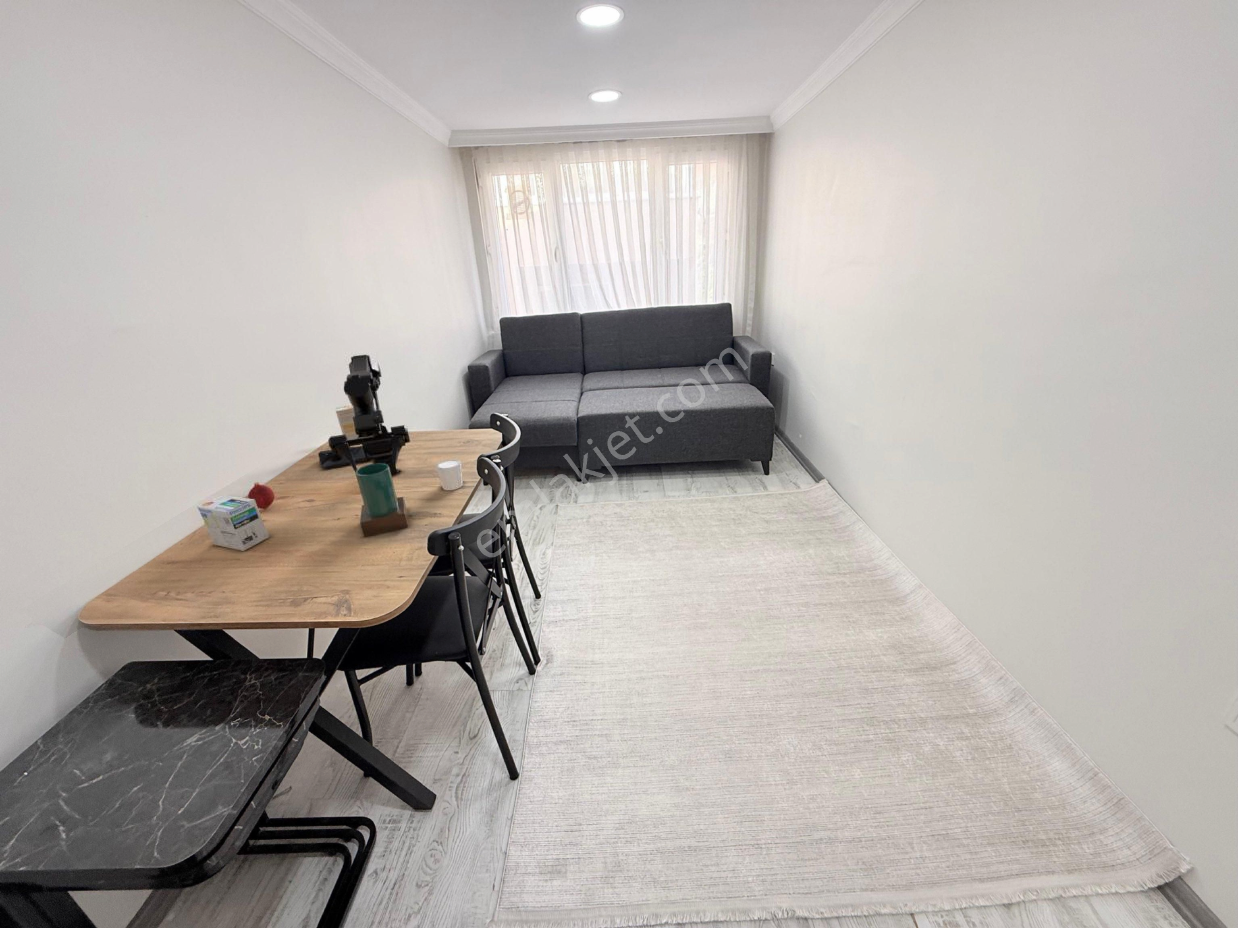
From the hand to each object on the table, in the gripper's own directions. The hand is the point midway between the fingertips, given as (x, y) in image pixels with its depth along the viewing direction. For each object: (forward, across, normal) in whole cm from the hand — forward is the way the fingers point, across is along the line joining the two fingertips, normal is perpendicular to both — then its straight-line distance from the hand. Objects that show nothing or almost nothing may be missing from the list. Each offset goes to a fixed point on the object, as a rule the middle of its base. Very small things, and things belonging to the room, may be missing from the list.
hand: (375, 468), depth 127 cm
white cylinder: (+4, +18, +13) cm, 23 cm away
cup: (+11, 0, 0) cm, 11 cm away
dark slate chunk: (-24, -9, +41) cm, 49 cm away
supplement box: (-37, -10, +55) cm, 67 cm away
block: (+14, 0, +3) cm, 14 cm away
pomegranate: (-3, -31, +20) cm, 37 cm away
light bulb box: (+9, -32, +8) cm, 35 cm away
